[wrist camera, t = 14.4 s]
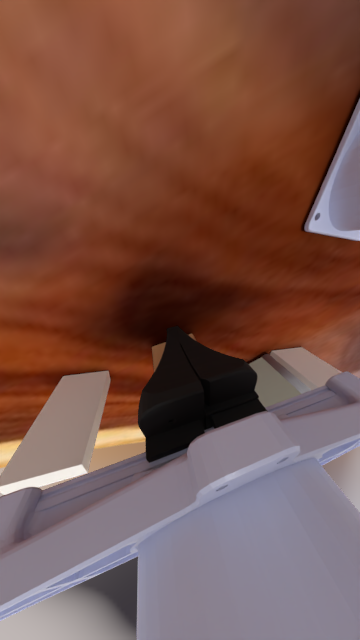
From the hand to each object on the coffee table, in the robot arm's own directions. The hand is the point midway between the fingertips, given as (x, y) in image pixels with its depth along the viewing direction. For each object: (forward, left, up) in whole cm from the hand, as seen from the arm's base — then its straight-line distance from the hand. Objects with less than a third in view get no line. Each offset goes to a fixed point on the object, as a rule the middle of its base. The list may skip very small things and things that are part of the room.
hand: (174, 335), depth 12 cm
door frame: (+6, +6, -1) cm, 8 cm away
